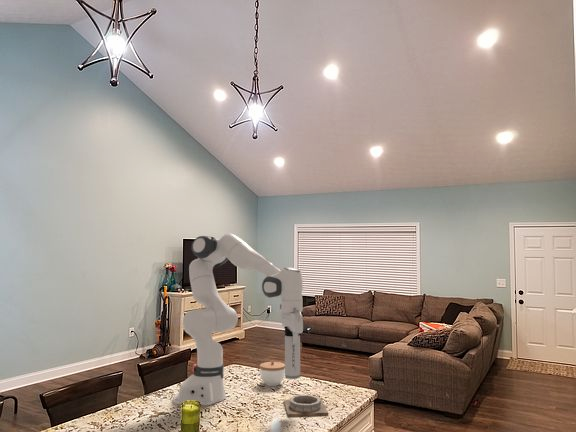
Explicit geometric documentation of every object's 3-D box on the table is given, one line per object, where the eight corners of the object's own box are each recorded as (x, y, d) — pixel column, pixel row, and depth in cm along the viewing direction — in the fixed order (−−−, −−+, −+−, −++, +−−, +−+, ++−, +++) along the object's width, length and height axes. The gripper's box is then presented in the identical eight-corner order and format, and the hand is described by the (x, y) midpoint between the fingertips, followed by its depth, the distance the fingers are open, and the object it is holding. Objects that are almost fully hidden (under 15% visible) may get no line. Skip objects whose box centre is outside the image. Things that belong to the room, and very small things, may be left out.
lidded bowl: (256, 381, 212) (257, 358, 213) (281, 379, 216) (281, 356, 217) (263, 389, 200) (263, 364, 201) (288, 386, 204) (288, 362, 205)
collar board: (287, 416, 166) (287, 407, 166) (283, 402, 182) (283, 394, 182) (328, 415, 167) (328, 405, 168) (320, 401, 183) (320, 392, 184)
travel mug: (289, 374, 178) (288, 325, 180) (303, 376, 175) (302, 326, 177) (281, 377, 173) (281, 327, 175) (295, 379, 170) (295, 328, 172)
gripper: (306, 309, 167) (307, 345, 166) (292, 304, 187) (292, 336, 186) (291, 310, 166) (291, 346, 164) (278, 304, 185) (278, 337, 184)
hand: (292, 341), depth 175 cm, fingers closed on travel mug, 6 cm apart
